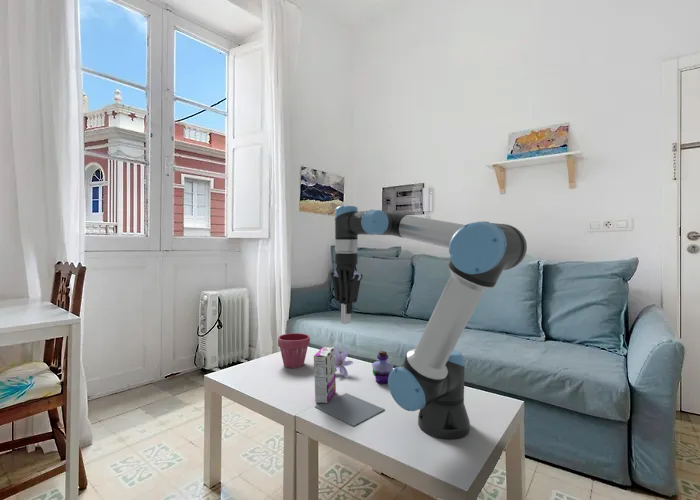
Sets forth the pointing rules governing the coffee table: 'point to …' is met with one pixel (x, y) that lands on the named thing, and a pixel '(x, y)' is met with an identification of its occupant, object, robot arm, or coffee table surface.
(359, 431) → the coffee table surface
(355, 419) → the mat
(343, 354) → the water lily
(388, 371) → the potion bottle
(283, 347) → the plant pot
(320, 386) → the candy bar box
